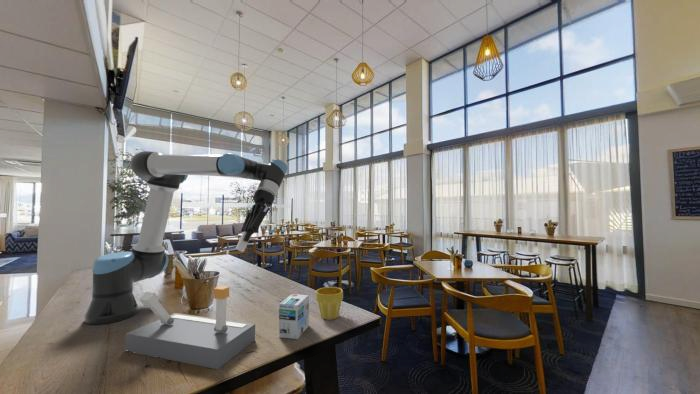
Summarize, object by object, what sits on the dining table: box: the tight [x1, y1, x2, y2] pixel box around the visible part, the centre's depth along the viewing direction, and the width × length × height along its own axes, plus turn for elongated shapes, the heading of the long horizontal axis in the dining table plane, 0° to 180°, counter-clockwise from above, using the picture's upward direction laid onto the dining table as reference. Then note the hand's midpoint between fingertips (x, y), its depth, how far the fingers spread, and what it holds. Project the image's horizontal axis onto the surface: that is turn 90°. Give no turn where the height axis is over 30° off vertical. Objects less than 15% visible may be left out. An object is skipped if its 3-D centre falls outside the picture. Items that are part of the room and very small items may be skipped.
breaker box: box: [125, 312, 256, 370], centre depth 83 cm, size 32×16×5 cm, turn 74°
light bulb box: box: [278, 293, 310, 340], centre depth 92 cm, size 11×7×11 cm, turn 168°
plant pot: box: [315, 286, 344, 320], centre depth 105 cm, size 10×10×10 cm
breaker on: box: [138, 291, 174, 324], centre depth 83 cm, size 3×3×13 cm
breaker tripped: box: [213, 285, 230, 333], centre depth 80 cm, size 3×3×13 cm
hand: (239, 250), depth 95 cm, fingers closed
